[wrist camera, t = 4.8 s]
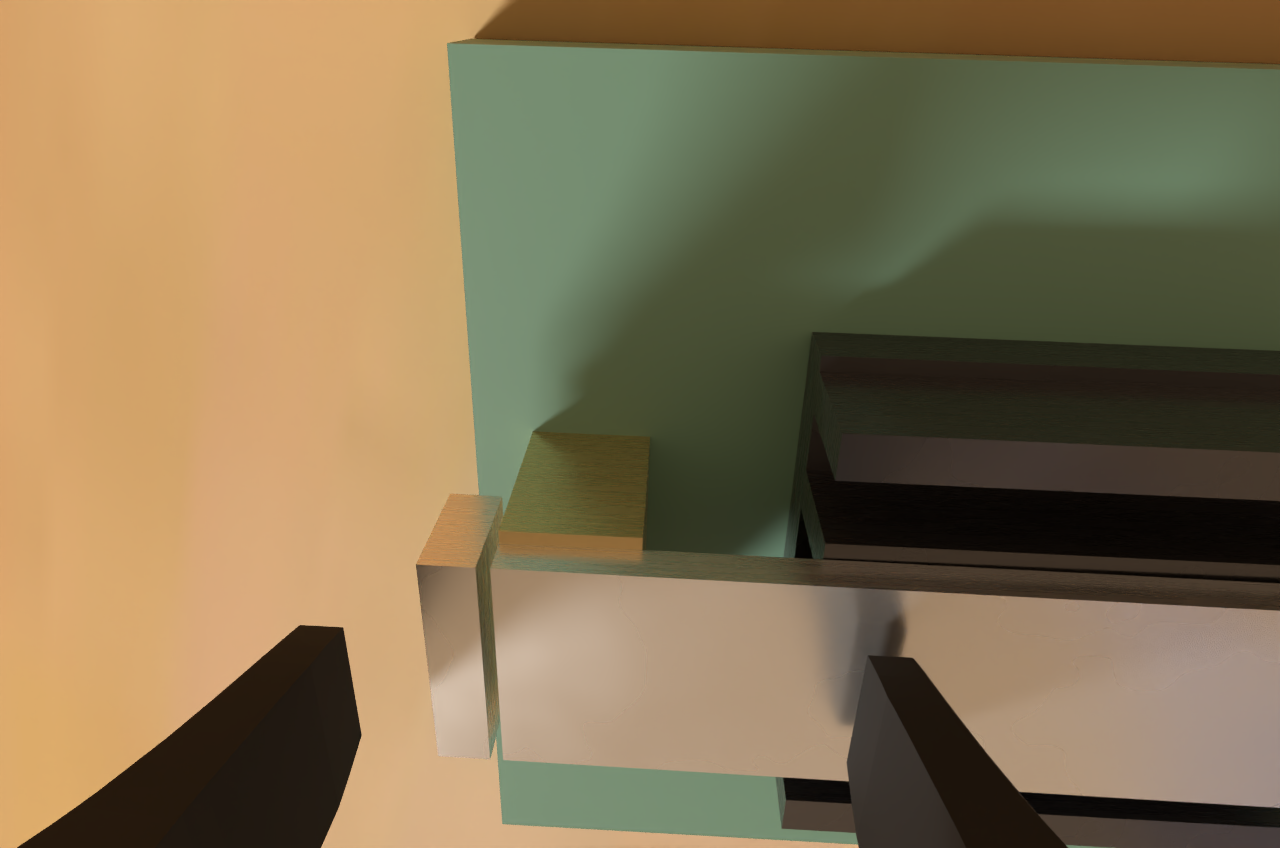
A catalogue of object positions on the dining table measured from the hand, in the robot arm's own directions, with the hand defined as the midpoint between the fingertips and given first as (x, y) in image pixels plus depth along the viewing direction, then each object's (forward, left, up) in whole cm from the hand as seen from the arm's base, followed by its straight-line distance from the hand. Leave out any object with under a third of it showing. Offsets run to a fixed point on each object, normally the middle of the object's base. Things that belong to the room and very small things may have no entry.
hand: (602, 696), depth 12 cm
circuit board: (-6, 0, -5) cm, 9 cm away
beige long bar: (-6, 0, -2) cm, 6 cm away
